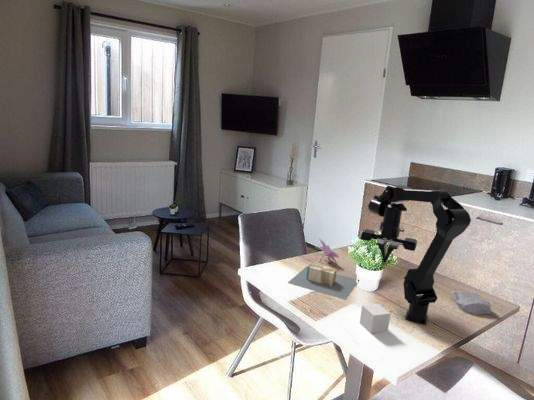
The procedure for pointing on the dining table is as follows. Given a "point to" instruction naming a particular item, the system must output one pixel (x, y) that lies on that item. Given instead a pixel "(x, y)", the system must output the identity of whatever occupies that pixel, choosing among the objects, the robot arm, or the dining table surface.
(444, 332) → the dining table surface
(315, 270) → the maple block
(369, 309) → the light grey cube
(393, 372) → the dining table surface
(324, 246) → the lily
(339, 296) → the rubber mat
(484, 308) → the stone block
